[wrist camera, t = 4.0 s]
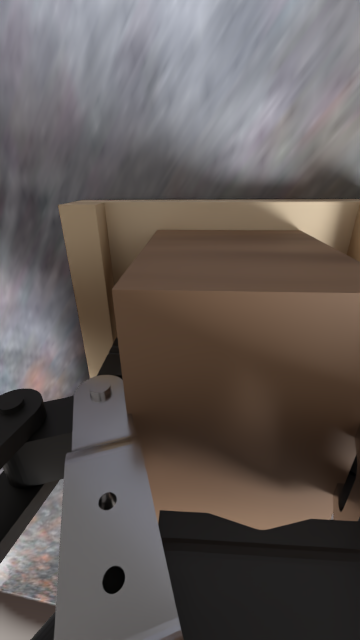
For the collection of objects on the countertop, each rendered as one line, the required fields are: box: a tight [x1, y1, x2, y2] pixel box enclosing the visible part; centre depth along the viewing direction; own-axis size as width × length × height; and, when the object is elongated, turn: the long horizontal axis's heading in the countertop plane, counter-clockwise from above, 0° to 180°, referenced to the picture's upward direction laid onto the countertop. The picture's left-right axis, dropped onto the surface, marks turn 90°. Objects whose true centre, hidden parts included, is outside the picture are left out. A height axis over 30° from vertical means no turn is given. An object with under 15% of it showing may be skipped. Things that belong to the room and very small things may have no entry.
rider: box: [112, 230, 360, 530], centre depth 9 cm, size 8×5×6 cm, turn 0°
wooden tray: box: [58, 199, 360, 378], centre depth 14 cm, size 19×13×3 cm
